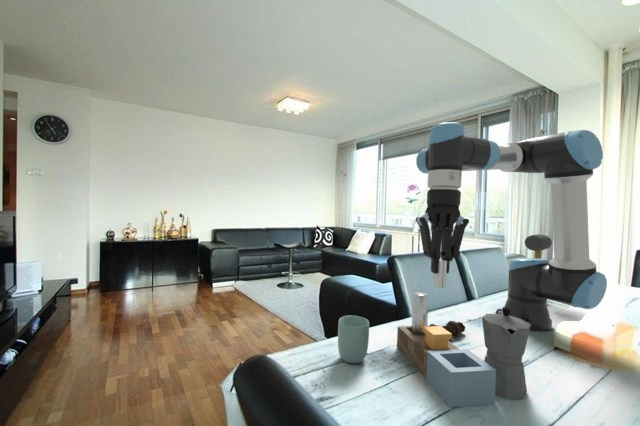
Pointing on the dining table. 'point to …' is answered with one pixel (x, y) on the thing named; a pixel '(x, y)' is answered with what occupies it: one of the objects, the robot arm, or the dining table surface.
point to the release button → (437, 337)
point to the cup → (353, 338)
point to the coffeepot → (506, 352)
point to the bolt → (453, 328)
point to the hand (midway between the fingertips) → (439, 286)
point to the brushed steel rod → (419, 313)
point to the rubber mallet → (538, 244)
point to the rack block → (461, 378)
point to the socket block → (416, 348)
